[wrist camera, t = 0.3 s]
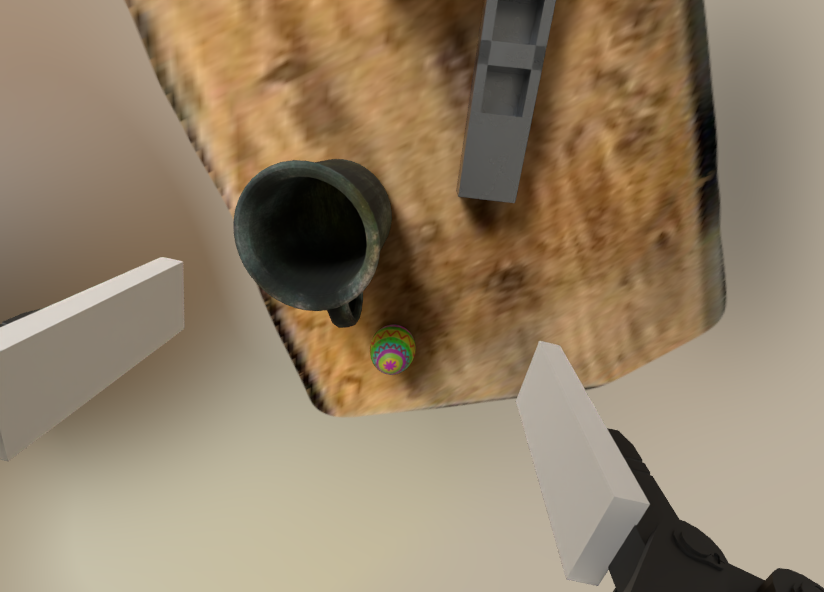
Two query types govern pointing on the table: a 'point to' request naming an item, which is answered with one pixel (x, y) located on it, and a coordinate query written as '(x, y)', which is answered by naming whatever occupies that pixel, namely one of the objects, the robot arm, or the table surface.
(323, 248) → the mug
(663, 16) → the table surface
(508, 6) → the rail
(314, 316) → the table surface
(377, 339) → the egg
